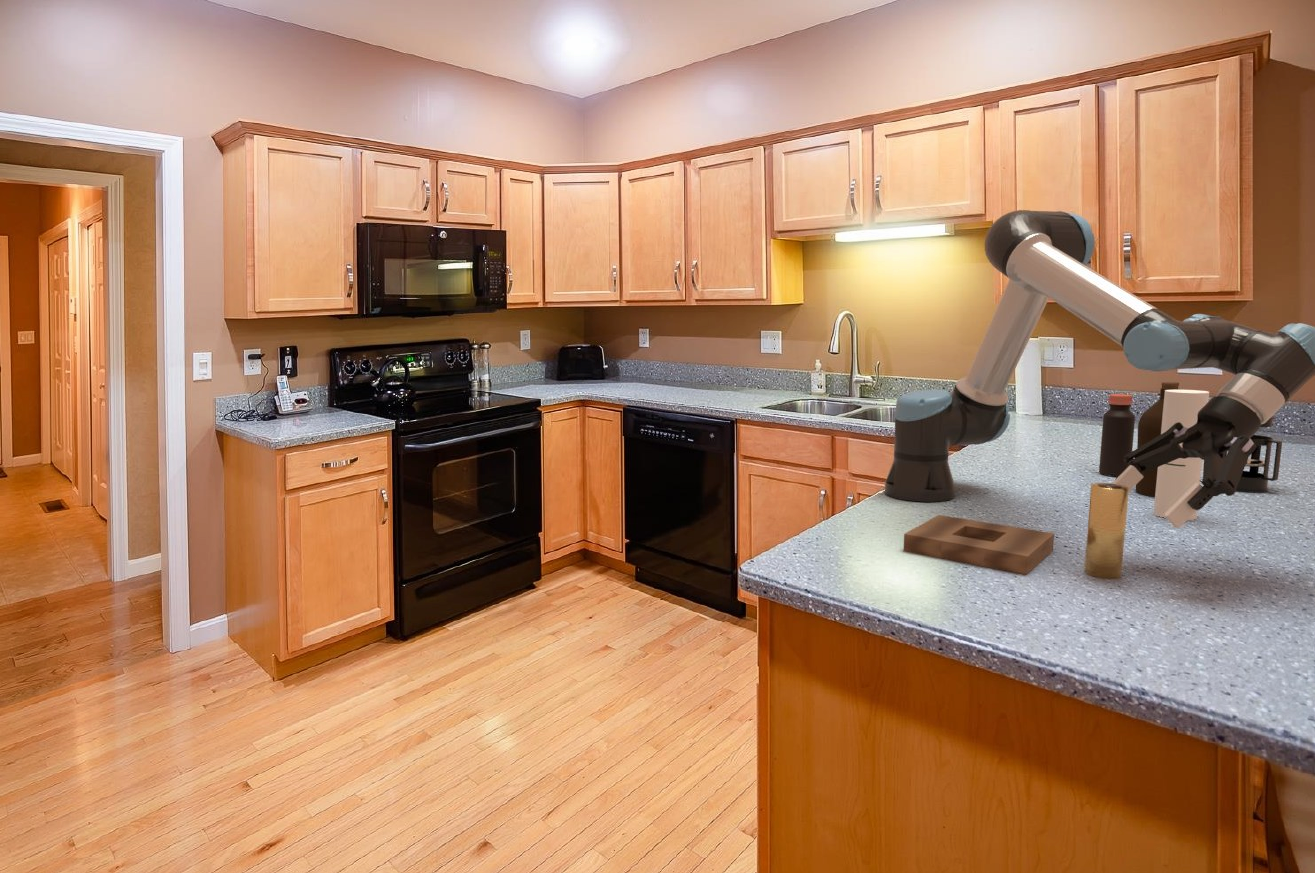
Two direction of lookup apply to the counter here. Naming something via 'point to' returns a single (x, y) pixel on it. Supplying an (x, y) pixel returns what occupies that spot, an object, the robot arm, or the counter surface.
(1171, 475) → the cylindrical container
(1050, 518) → the counter surface
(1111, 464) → the bottle
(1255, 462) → the french press
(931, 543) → the walnut jig plate
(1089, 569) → the brass bushing
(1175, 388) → the olive oil
